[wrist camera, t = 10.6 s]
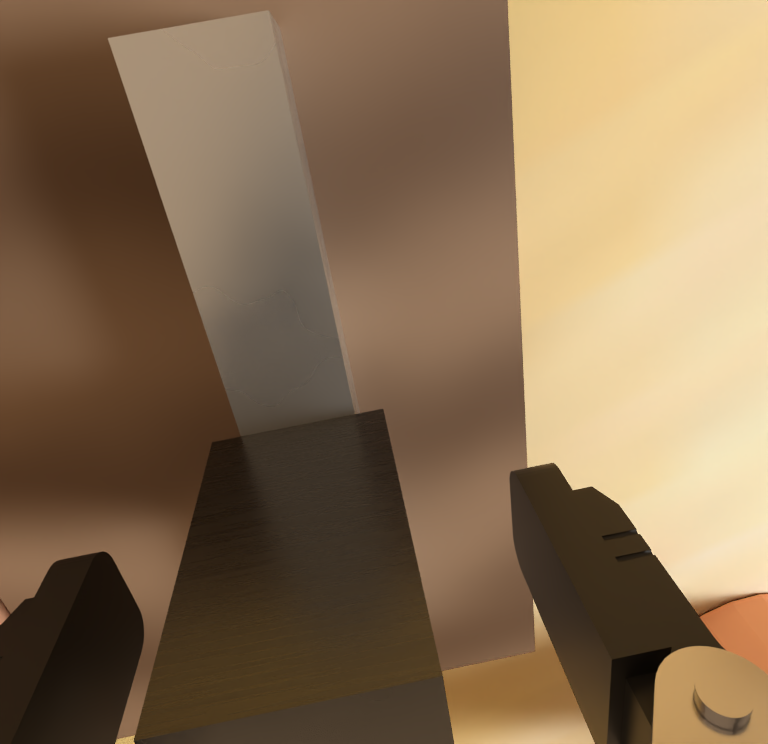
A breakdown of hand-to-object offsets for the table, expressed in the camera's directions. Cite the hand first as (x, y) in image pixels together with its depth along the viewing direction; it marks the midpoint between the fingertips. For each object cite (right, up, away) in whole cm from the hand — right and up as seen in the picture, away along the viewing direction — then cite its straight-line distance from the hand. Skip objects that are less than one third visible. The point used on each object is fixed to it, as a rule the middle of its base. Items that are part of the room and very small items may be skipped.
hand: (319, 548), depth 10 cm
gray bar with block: (0, +2, +4) cm, 4 cm away
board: (-3, +2, +5) cm, 6 cm away
